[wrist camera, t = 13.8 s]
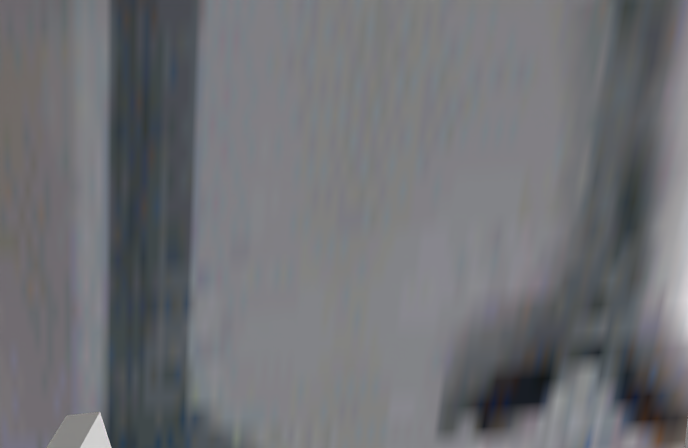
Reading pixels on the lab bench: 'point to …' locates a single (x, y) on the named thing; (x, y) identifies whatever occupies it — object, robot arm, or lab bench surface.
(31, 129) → the lab bench surface
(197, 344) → the lab bench surface
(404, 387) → the lab bench surface
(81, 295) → the lab bench surface
